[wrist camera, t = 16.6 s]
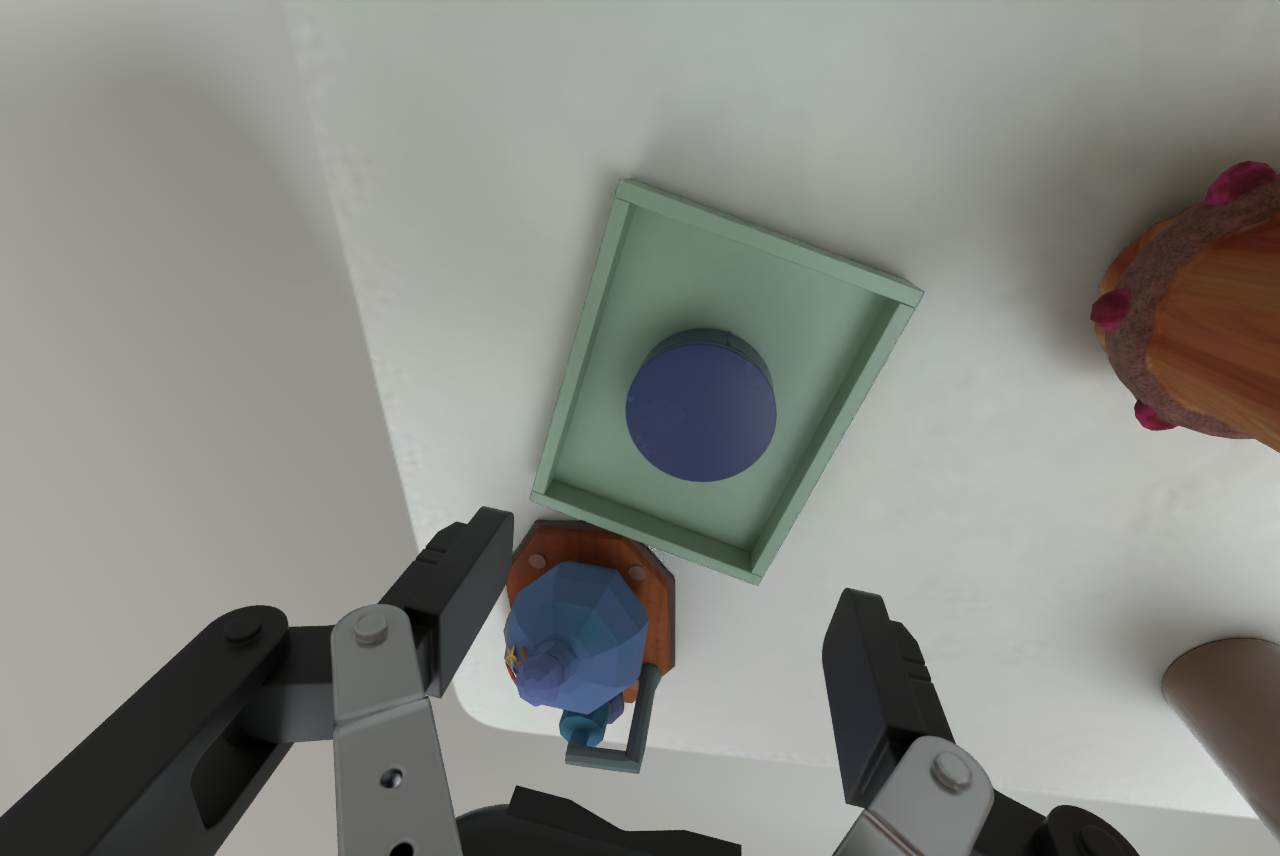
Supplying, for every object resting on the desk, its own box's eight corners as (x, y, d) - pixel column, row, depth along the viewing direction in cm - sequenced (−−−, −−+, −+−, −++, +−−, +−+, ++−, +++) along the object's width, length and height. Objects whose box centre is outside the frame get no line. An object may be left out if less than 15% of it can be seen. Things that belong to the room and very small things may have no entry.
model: (495, 516, 29) (396, 656, 20) (674, 526, 27) (644, 683, 19) (525, 683, 34) (454, 851, 25) (677, 700, 32) (655, 884, 24)
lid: (661, 305, 22) (653, 318, 20) (798, 356, 22) (804, 374, 20) (618, 429, 25) (607, 452, 23) (740, 474, 25) (740, 502, 23)
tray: (756, 559, 27) (757, 586, 25) (542, 479, 27) (528, 500, 26) (909, 281, 21) (925, 291, 19) (629, 177, 21) (619, 178, 19)
